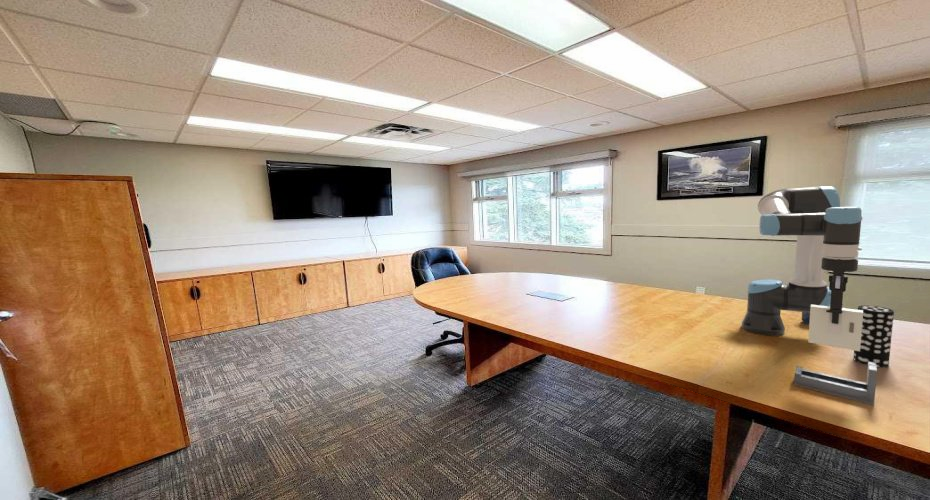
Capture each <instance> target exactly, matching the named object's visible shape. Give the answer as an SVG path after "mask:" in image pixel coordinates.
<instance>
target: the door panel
mask: <svg viewBox="0 0 930 500" xmlns="http://www.w3.org/2000/svg"><path fill="white" fill-rule="evenodd" d="M829 309H830V306H821V305H813V304H811V307H810V323H809V324H808V340H807V341H808V343H809V344H810V343H811V344H816V345H822V346H827V347H832V348H839V349H844V350H849V351H850V350H851V351H854V350H855V351H860V345H861V333H862V321H863V310H858V309H856V308H855V309H854V308H853V309H852V308H846V307H845V308H842V322H841V334H835V333H829V332H828V322H829V312H826V310H829Z"/></svg>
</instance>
